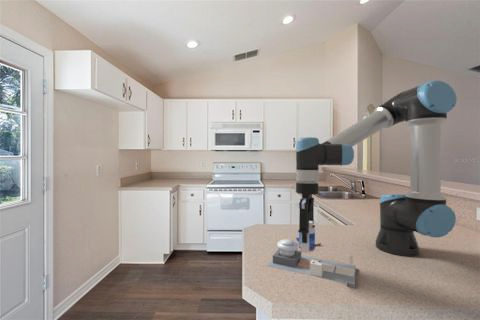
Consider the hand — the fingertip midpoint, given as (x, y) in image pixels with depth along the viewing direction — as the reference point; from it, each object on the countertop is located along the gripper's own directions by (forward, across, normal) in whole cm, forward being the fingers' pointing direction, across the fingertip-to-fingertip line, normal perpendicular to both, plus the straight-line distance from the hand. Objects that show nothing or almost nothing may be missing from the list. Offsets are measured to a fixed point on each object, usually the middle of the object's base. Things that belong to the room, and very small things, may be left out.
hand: (306, 248), depth 81 cm
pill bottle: (+1, 0, 0) cm, 1 cm away
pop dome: (+4, 0, -7) cm, 8 cm away
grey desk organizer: (+6, 0, +2) cm, 7 cm away
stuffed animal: (+7, -20, -6) cm, 22 cm away
